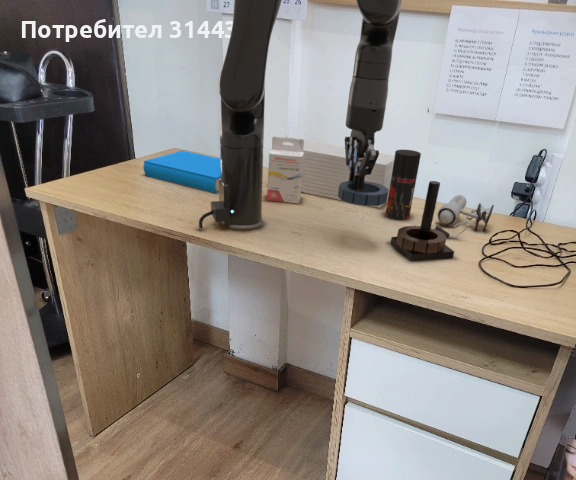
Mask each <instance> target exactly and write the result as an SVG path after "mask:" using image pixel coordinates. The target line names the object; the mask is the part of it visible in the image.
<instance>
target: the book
mask: <svg viewBox="0 0 576 480" xmlns="http://www.w3.org/2000/svg"><path fill="white" fill-rule="evenodd" d="M143 173H144V175H145V176H146V177H150V178H154V179H158V180H163V181H166V182H171V183H175V184H179V185H183V186H186V187H190V188H194V189H199V190H202V191H206V192H211V193H215V194H217V193H218V194H219V178H221V158H219V157H215V156H210V155H206V154H200V153H195V152H193V151H192V152H191V151H188V150H178V151H175V152H172V153H168V154H167V153H166V154H163V155H160V156H156V157H153V158H150V159H145V160H143Z"/></svg>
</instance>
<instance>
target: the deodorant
mask: <svg viewBox="0 0 576 480" xmlns="http://www.w3.org/2000/svg"><path fill="white" fill-rule="evenodd" d="M394 156H395V158H394V164H393V170H392V177H391V183H390V189H389V196H388V202H387V203H386V209H385V216H386V217H387V218H389V219H392V220H398V221H405V220H408V219H410V216H411V210H412V206H413V200H414V194H415V189H416V183H417V178H418V173H419V172H418V171H419V168H420V167H419V166H420V162H421V156H422V153H421V152H419V151H417V150H412V149H397V150H395V152H394Z"/></svg>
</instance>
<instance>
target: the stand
mask: <svg viewBox="0 0 576 480" xmlns="http://www.w3.org/2000/svg"><path fill="white" fill-rule="evenodd" d="M440 187H441V182H439V181H436V180H430V181H429V182H428V186H427V192H426V197H425V202H424V207H423V212H422V216H421V222H420V225H419V226H420V232H419V237H418V238H416V239H421V240H429V235H430V230H431V228H432V226H433V225H432V224H433V221H434V215H435V210H436V206H437V201H438V196H439V192H440ZM396 240H397V236H391V238H390V244H391V245H392V247H394V248H395V249H396V250H398V251H399V252H400V253H401V254H402V255H403V256H404V257H406V259H408V260H409V262H418V261H428V260H429V261H430V260H445V259H453V258H454V256H455V255H454V254H455V250H453V249H452V248H450V247H449V246H448V245H446V244H445V247H444V249H443V250H441V251H439V252H437V253H426V252H425V253H419V252H414V251H410V250H407V249H404V248H403V247H400V246H399V245H398V244H397V243H396Z"/></svg>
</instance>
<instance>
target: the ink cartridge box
mask: <svg viewBox="0 0 576 480" xmlns="http://www.w3.org/2000/svg"><path fill="white" fill-rule="evenodd" d="M304 140H305V139H303V138H294V137H285V136H284V137H283V136H272V138H271V149H270V151H269V153H268V166H267V167H268V168H267V169H268V170H267V171H268V172H267V191H266V193H267V194H266V200H267V201H268V202H269V201H270V202H281V203H288V204H289V203H290V204H291V203H292V204H300V200H301V195H302V192H301V185H302V171H303V158H304V152H303V147H304ZM287 141H288V142H290V143H293V146H290V145H283V144H282V143H283V142H287Z"/></svg>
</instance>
